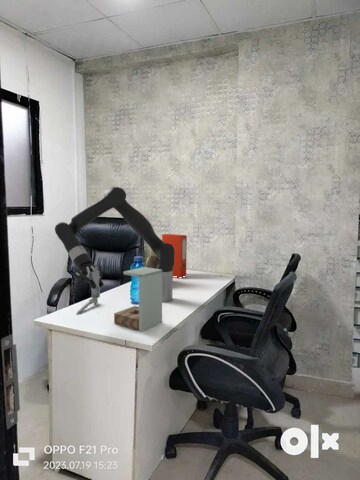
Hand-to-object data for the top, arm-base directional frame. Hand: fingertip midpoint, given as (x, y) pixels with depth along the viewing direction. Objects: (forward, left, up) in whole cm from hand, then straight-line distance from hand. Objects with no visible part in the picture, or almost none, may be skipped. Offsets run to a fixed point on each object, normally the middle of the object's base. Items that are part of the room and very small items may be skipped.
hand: (98, 286), depth 153 cm
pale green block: (0, +20, -18) cm, 27 cm away
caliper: (-24, -12, -18) cm, 32 cm away
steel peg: (-1, -2, -5) cm, 5 cm away
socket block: (-3, +16, -18) cm, 24 cm away
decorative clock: (-81, +19, -18) cm, 85 cm away
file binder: (-105, +33, -18) cm, 112 cm away
